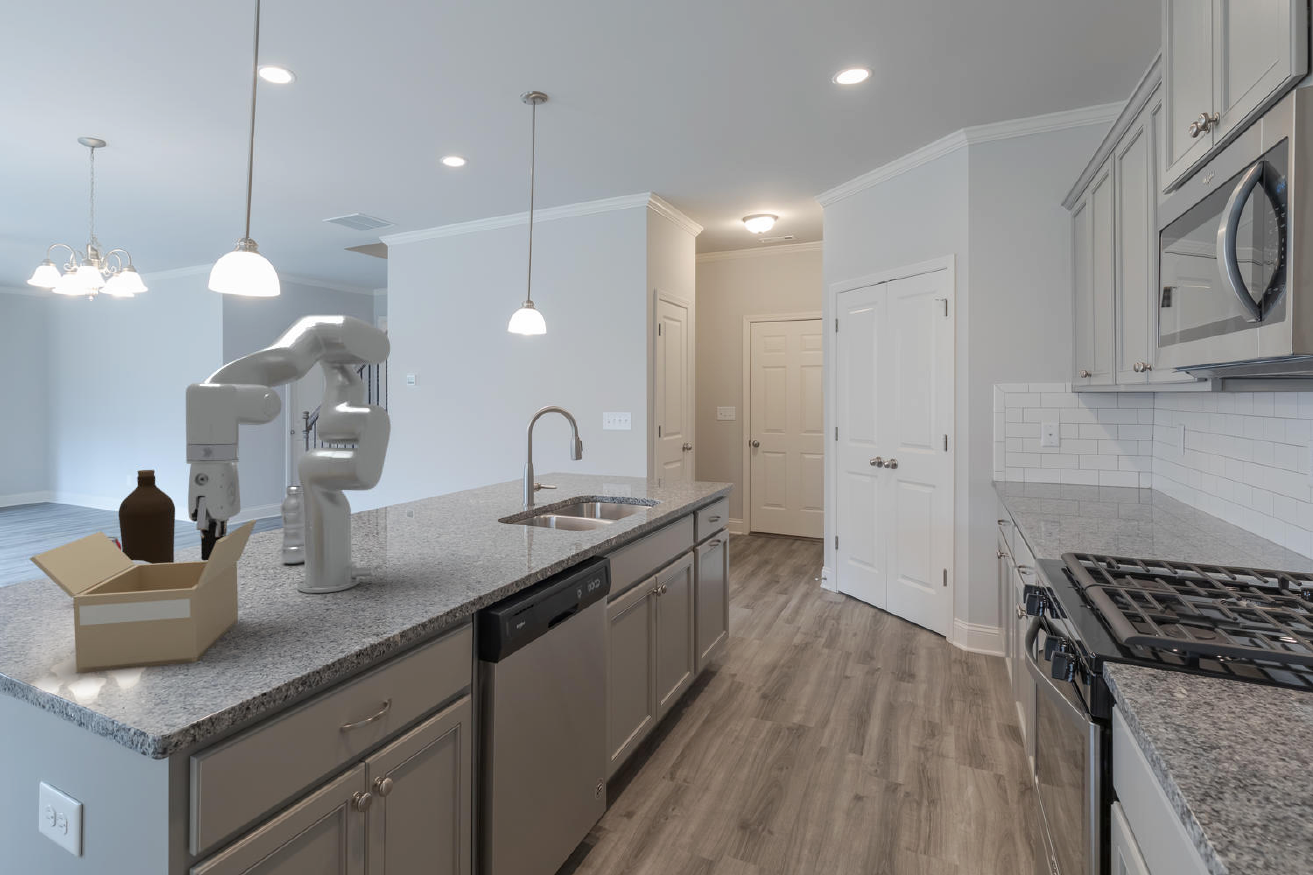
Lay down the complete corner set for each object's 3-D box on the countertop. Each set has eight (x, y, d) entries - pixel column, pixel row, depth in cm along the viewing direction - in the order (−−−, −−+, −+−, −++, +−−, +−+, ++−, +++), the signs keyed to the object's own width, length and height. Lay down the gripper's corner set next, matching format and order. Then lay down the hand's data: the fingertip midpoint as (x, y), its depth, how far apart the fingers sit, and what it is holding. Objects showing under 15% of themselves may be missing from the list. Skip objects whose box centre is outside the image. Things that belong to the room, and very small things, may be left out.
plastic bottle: (288, 560, 168) (286, 484, 167) (315, 559, 169) (313, 484, 168) (275, 566, 162) (274, 488, 161) (303, 566, 162) (302, 488, 161)
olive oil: (160, 578, 150) (157, 472, 148) (109, 580, 148) (105, 473, 147) (186, 567, 160) (183, 468, 159) (139, 568, 159) (135, 468, 157)
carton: (238, 620, 122) (236, 559, 122) (196, 662, 103) (194, 589, 103) (138, 628, 118) (136, 564, 117) (76, 673, 99) (72, 597, 98)
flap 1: (101, 531, 115) (98, 533, 115) (33, 556, 97) (29, 558, 96) (135, 563, 117) (132, 566, 117) (74, 594, 98) (71, 597, 98)
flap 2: (216, 540, 104) (220, 542, 104) (253, 519, 122) (256, 520, 122) (196, 587, 103) (200, 588, 103) (235, 558, 121) (239, 559, 122)
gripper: (220, 457, 105) (221, 568, 105) (252, 451, 119) (253, 549, 120) (167, 457, 103) (168, 570, 103) (206, 451, 117) (207, 551, 118)
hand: (213, 558), depth 112 cm, fingers closed
